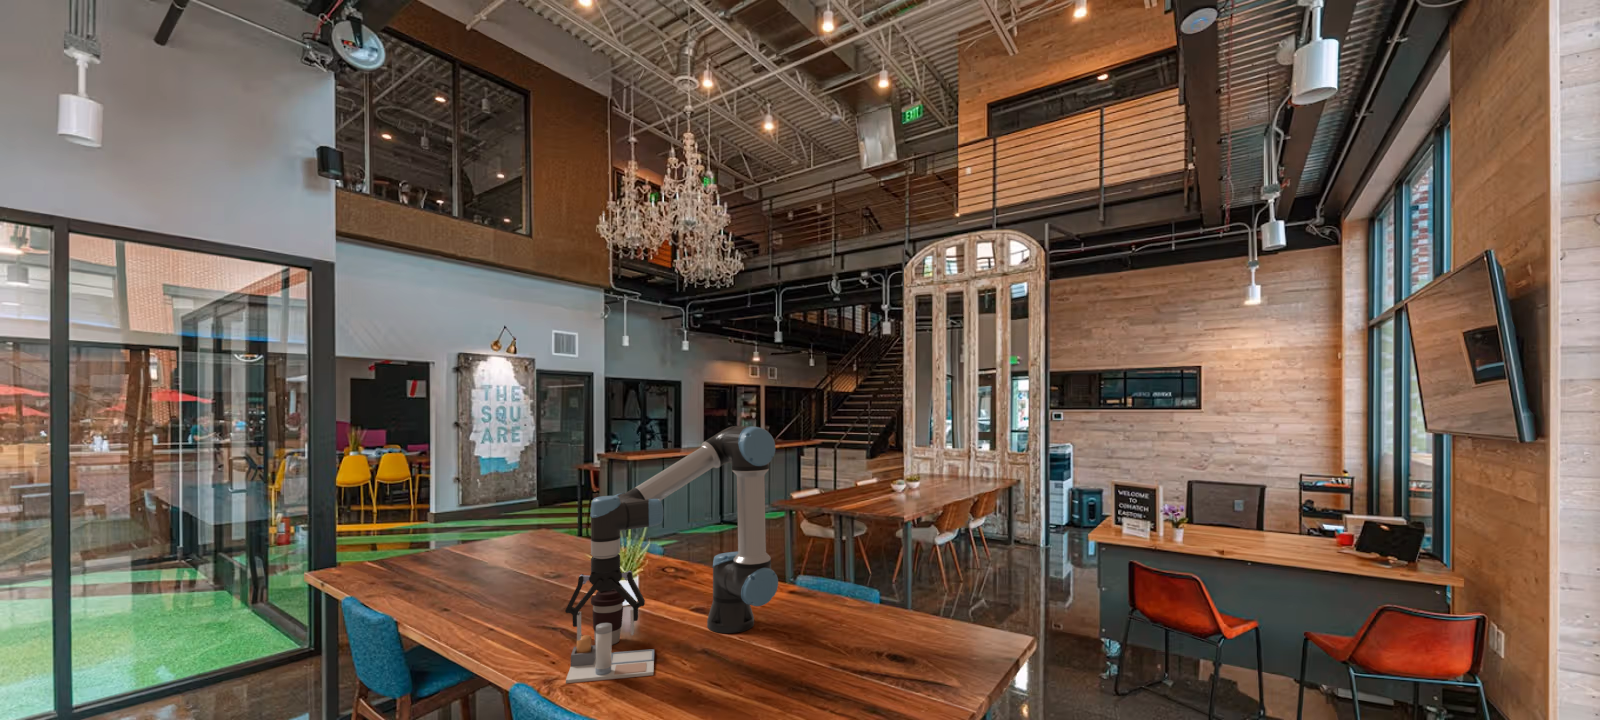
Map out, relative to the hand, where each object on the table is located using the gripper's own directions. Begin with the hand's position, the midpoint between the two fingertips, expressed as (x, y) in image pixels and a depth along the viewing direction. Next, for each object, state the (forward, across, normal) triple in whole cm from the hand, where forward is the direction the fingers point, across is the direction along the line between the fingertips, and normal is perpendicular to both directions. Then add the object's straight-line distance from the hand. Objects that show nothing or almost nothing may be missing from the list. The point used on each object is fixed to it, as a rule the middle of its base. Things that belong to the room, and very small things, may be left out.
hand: (605, 636), depth 166 cm
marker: (+9, +1, 0) cm, 9 cm away
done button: (+8, +7, -8) cm, 13 cm away
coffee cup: (+10, +2, -24) cm, 26 cm away
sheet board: (+10, -1, -5) cm, 11 cm away
